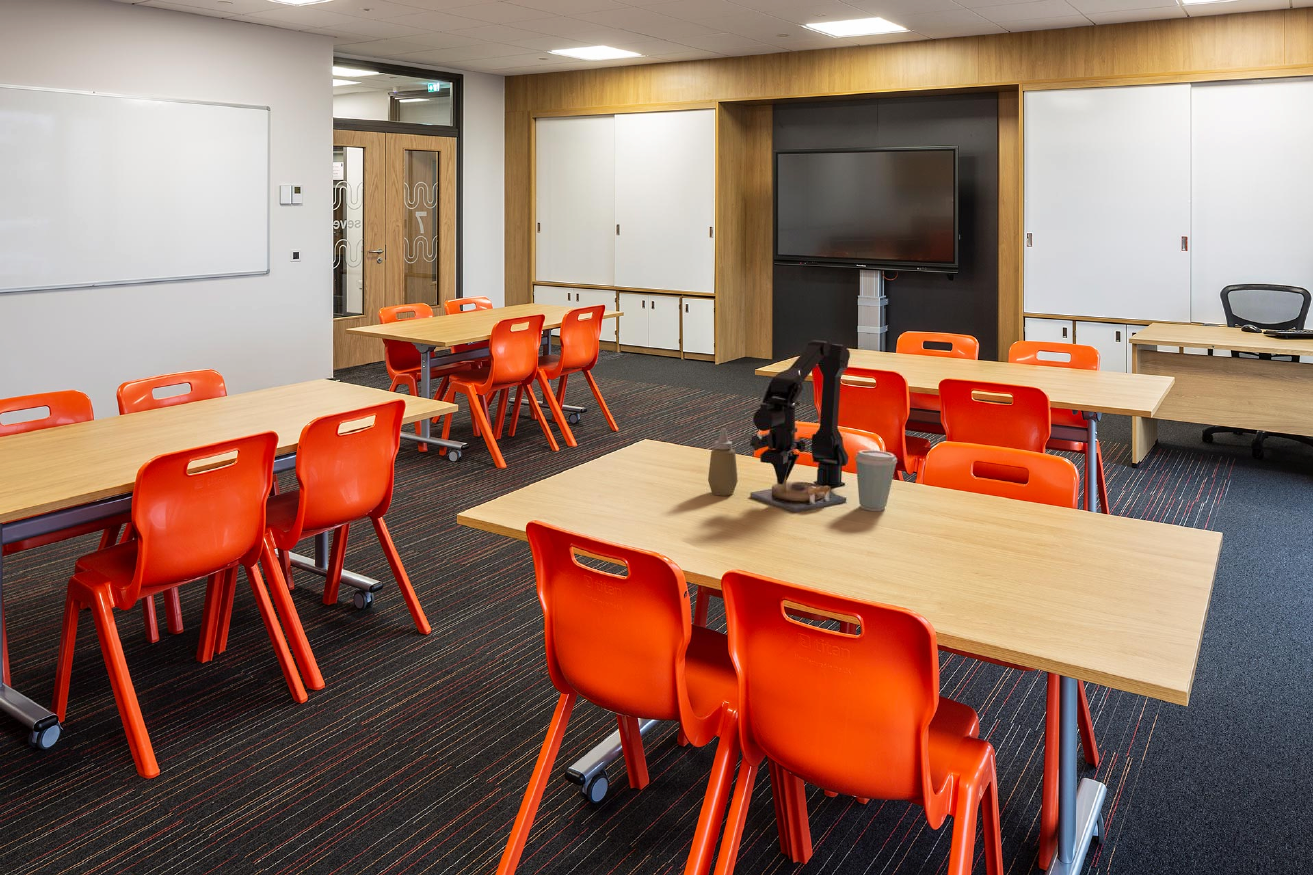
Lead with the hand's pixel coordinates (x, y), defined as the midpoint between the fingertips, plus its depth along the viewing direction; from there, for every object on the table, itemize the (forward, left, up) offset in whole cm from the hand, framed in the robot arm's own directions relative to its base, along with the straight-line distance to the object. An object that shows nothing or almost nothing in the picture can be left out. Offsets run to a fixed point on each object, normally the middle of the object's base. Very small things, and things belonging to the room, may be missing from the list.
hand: (782, 482), depth 268 cm
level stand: (-6, 0, -6) cm, 8 cm away
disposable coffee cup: (-17, +17, -6) cm, 24 cm away
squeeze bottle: (+7, -16, -6) cm, 19 cm away
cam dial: (-6, 0, -4) cm, 7 cm away
